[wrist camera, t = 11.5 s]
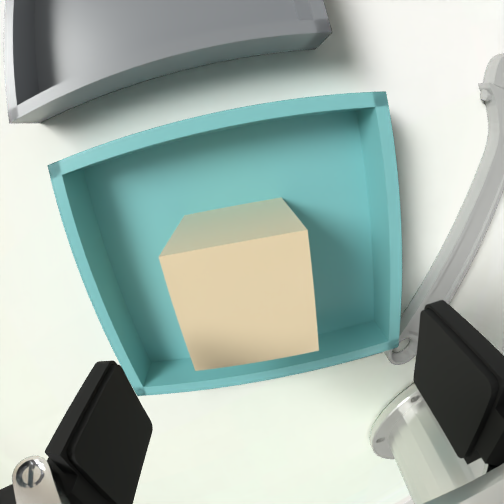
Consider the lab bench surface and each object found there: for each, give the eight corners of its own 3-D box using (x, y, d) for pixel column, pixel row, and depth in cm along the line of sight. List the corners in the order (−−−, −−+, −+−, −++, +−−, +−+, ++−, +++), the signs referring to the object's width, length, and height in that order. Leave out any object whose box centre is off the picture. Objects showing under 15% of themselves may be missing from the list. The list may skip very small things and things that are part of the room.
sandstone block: (281, 197, 16) (307, 229, 10) (293, 285, 18) (318, 350, 12) (184, 215, 16) (158, 256, 10) (205, 300, 18) (195, 370, 12)
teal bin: (361, 97, 15) (385, 91, 12) (379, 321, 20) (398, 347, 17) (75, 160, 15) (47, 165, 12) (147, 366, 20) (137, 395, 17)
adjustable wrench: (398, 356, 22) (407, 370, 20) (336, 331, 20) (343, 347, 19) (535, 93, 15) (550, 93, 13) (490, 36, 13) (505, 33, 12)
